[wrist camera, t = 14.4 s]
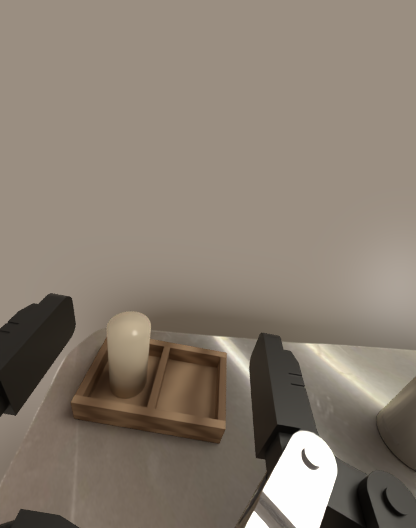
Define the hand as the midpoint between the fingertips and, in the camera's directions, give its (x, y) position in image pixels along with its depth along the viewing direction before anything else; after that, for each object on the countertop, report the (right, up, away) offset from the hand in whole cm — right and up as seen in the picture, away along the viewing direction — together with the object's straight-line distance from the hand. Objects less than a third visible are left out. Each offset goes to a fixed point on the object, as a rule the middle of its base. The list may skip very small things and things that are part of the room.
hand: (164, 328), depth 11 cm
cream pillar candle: (-10, -15, +28) cm, 33 cm away
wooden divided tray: (-6, -17, +28) cm, 34 cm away
